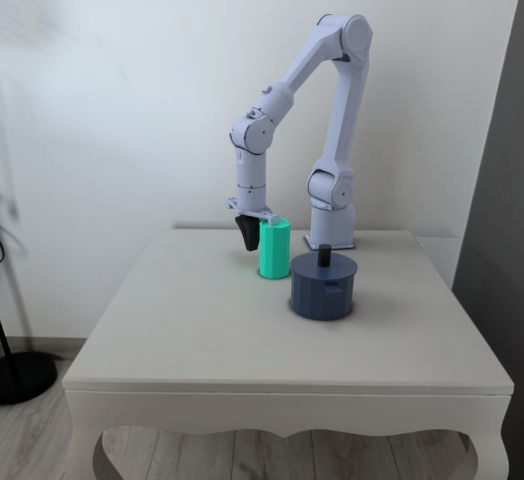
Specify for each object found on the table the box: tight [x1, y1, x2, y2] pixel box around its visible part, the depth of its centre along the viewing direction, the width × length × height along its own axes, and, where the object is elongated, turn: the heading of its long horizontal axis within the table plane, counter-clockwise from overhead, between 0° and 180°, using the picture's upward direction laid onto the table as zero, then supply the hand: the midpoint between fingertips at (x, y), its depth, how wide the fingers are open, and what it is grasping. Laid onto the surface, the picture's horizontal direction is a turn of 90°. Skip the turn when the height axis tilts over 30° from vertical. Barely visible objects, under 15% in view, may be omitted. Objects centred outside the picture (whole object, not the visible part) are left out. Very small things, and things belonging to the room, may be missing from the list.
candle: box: [259, 215, 292, 280], centre depth 101 cm, size 6×6×12 cm
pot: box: [290, 270, 356, 321], centre depth 91 cm, size 11×16×8 cm
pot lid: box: [289, 244, 359, 282], centre depth 88 cm, size 12×12×4 cm
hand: (252, 249), depth 108 cm, fingers closed
